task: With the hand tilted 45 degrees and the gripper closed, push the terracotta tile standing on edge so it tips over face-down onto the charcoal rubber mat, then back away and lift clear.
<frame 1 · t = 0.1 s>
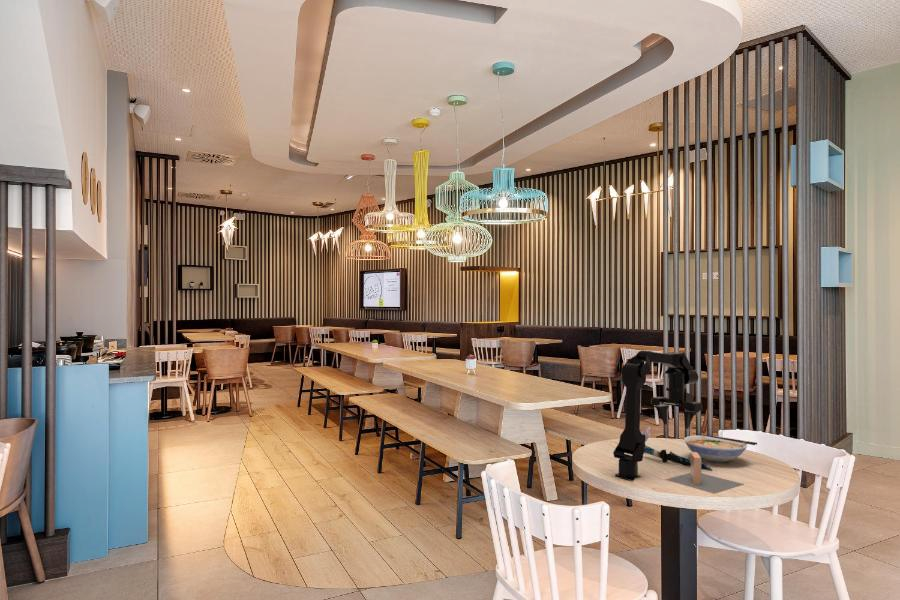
hand: (676, 426, 216), 15 cm above the table, tool pointing down, fingers open, 9 cm apart
knife: (672, 464, 218), on the table
mat: (704, 483, 193), on the table
ramen bowl: (715, 460, 224), on the table
tile: (695, 481, 194), resting on mat
water lily: (638, 451, 238), on the table
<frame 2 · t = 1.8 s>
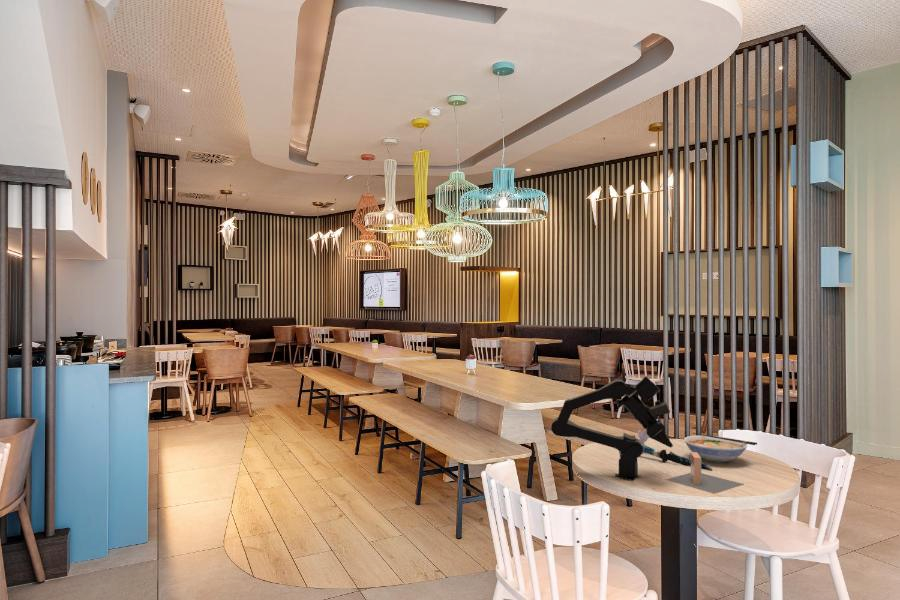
hand: (670, 443, 197), 13 cm above the table, tool tilted 45°, fingers open, 9 cm apart
nothing on the table moved.
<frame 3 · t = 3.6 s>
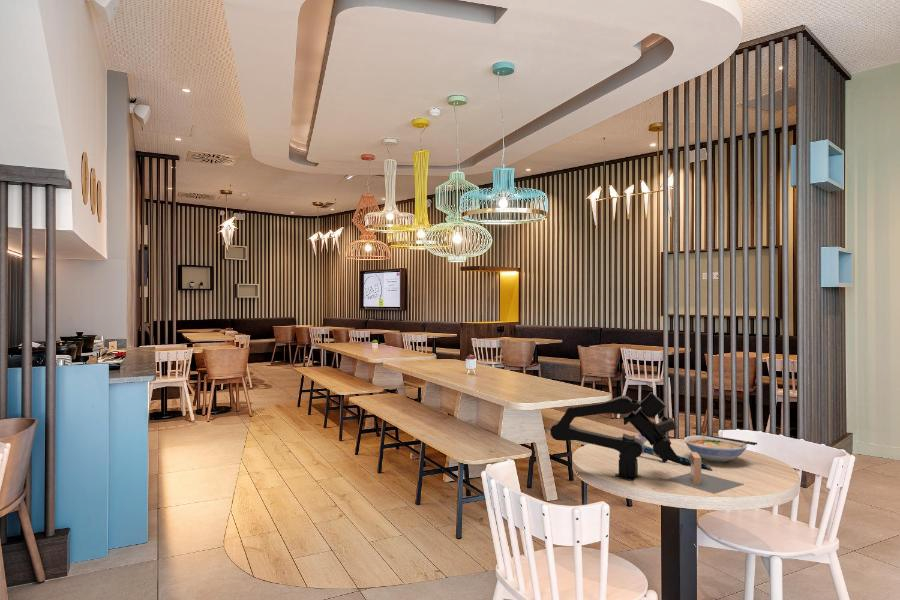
hand: (677, 459, 195), 7 cm above the table, tool tilted 45°, fingers closed
nothing on the table moved.
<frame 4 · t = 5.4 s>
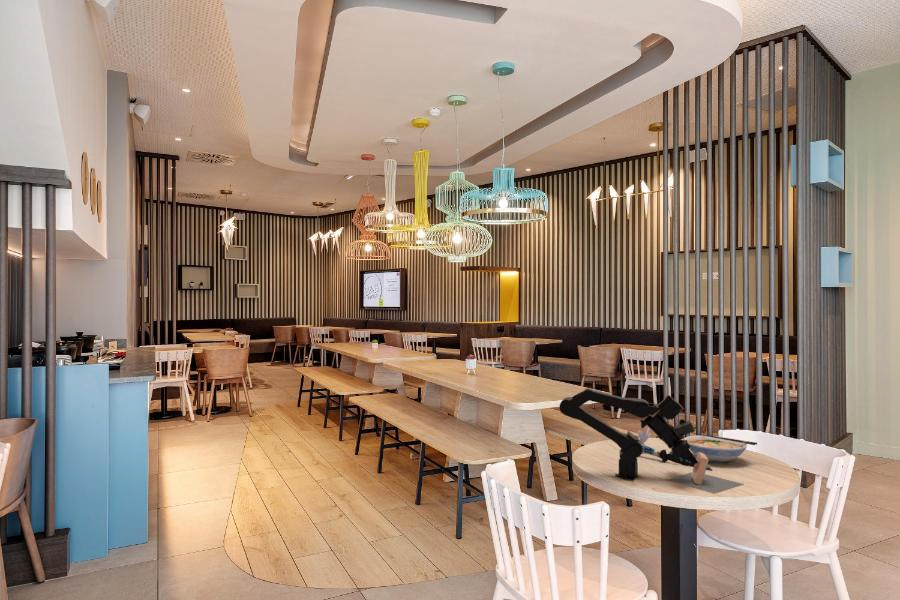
hand: (696, 462, 194), 7 cm above the table, tool tilted 45°, fingers closed
tile: (695, 480, 194), point 1 cm above the table, tilted 15°, touching mat
everything else where it was.
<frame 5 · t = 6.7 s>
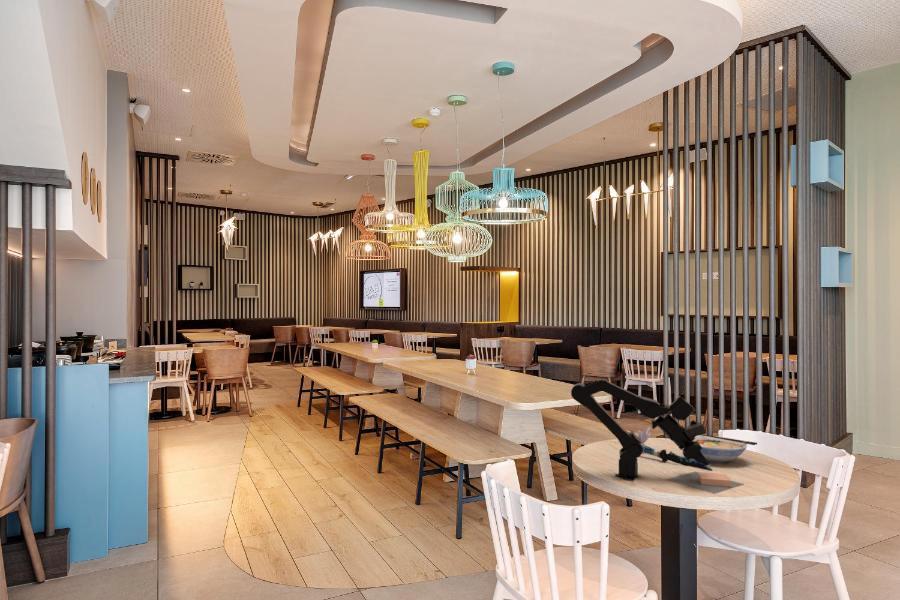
hand: (707, 464, 193), 7 cm above the table, tool tilted 45°, fingers closed
tile: (699, 477, 193), point 2 cm above the table, tilted 90°, touching mat
everything else where it was.
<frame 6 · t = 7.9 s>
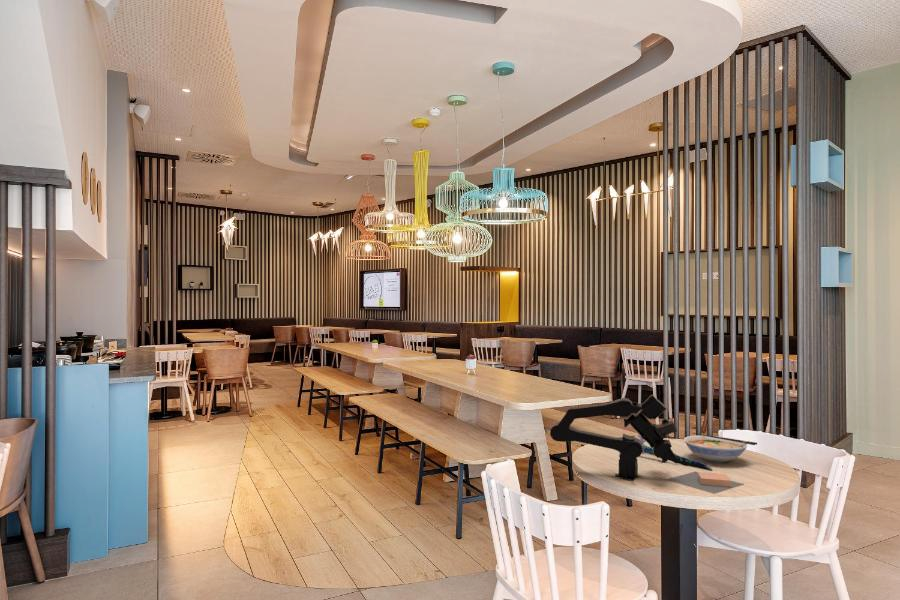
hand: (678, 462, 195), 6 cm above the table, tool tilted 45°, fingers closed
nothing on the table moved.
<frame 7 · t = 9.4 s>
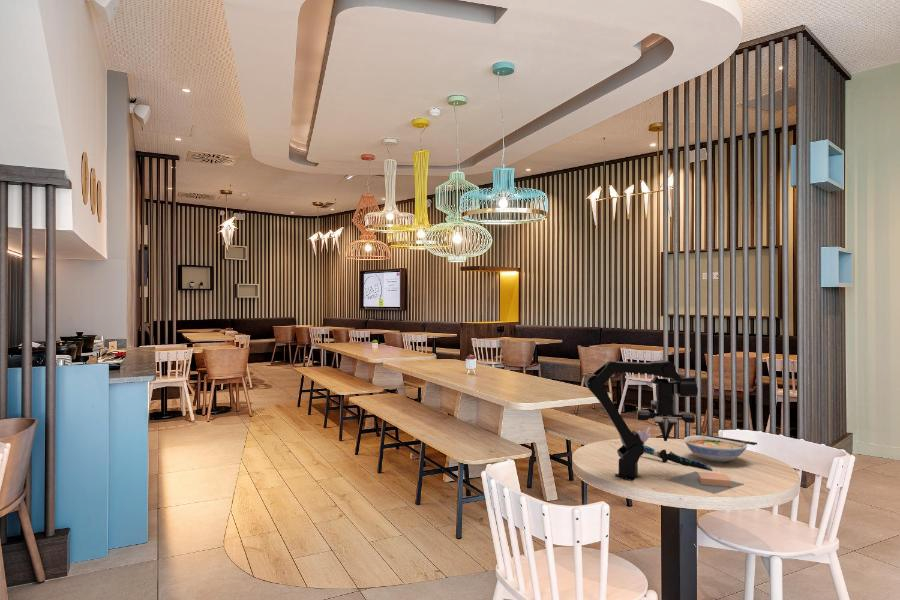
hand: (665, 440, 199), 13 cm above the table, tool pointing down, fingers closed
nothing on the table moved.
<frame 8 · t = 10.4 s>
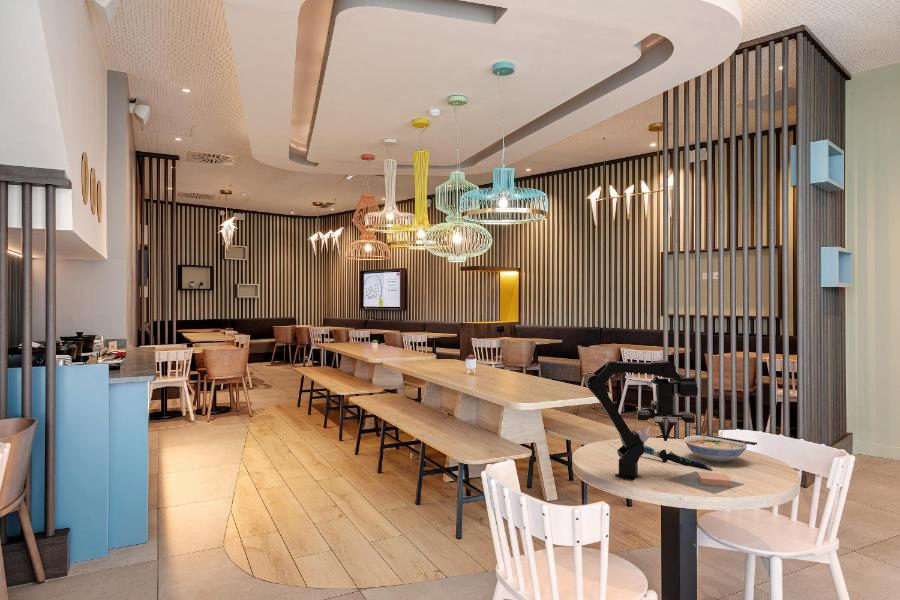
hand: (665, 440, 199), 13 cm above the table, tool pointing down, fingers closed
nothing on the table moved.
at the end: tile tilted 90°; tile inside the target area on the mat (1.6 cm from its centre), point 1.7 cm above the mat's base; the gripper is holding nothing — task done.
